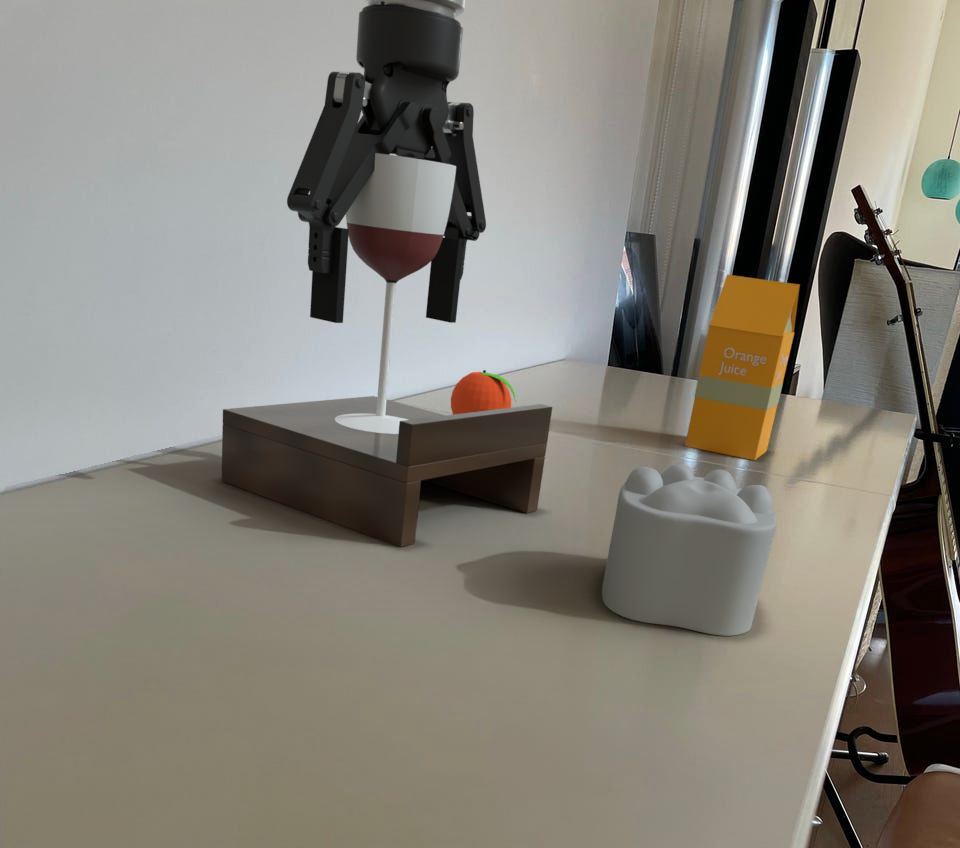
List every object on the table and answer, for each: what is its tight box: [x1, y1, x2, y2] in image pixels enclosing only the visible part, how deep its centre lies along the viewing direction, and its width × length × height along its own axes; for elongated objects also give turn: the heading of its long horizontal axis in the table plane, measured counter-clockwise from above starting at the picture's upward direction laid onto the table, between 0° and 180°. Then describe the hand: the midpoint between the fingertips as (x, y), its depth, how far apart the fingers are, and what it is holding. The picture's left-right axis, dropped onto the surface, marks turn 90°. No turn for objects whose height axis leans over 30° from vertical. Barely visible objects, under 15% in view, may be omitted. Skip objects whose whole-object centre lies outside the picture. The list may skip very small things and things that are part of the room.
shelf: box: [221, 395, 553, 548], centre depth 82 cm, size 20×18×9 cm
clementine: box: [450, 369, 517, 415], centre depth 112 cm, size 8×7×7 cm
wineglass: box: [335, 153, 456, 434], centre depth 78 cm, size 8×9×20 cm
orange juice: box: [684, 274, 801, 461], centre depth 119 cm, size 8×9×20 cm
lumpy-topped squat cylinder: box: [601, 463, 777, 637], centre depth 68 cm, size 10×13×9 cm
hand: (387, 320), depth 79 cm, fingers open, 13 cm apart
